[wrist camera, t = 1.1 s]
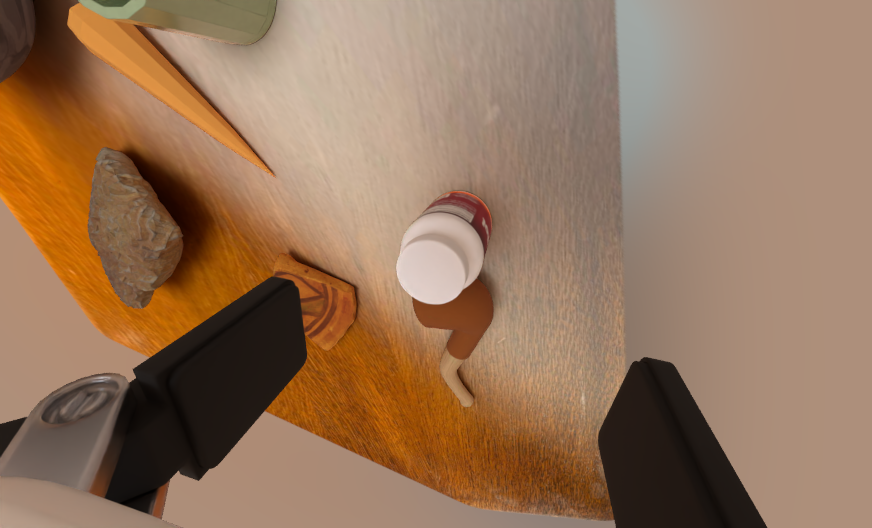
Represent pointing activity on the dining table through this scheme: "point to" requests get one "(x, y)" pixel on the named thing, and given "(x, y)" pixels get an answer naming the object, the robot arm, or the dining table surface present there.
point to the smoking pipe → (459, 330)
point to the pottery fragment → (320, 301)
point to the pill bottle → (444, 248)
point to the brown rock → (131, 229)
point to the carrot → (153, 74)
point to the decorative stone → (15, 34)
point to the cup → (194, 17)
